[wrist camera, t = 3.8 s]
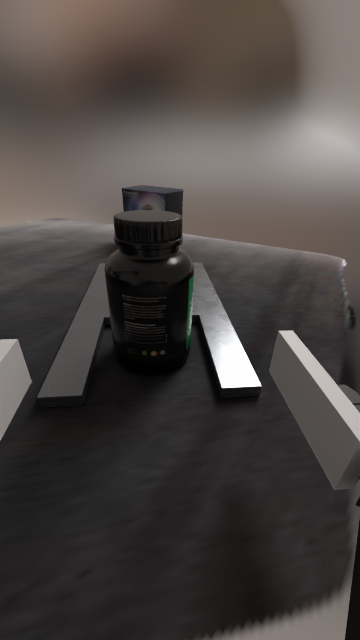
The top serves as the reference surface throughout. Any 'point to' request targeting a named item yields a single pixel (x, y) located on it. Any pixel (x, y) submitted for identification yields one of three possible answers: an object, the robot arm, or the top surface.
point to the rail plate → (93, 314)
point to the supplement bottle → (150, 292)
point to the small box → (152, 199)
